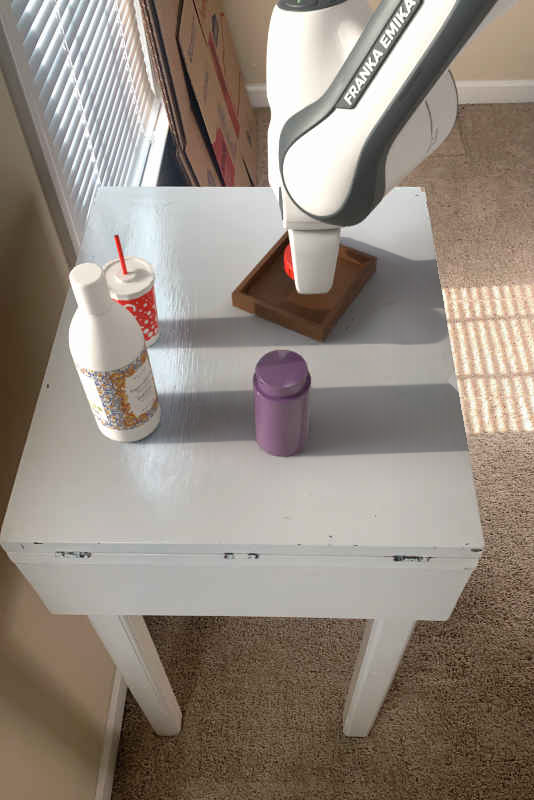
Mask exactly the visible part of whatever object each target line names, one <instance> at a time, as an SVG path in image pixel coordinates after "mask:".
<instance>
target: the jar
mask: <svg viewBox="0 0 534 800" xmlns="http://www.w3.org/2000/svg"><path fill="white" fill-rule="evenodd" d="M254 370H255V371H254V372H253V375H252V393H253V394H252V395H253V410H254V411H253V412H254V430H255V432H254V433H255V440H256V443H257V445H258V447H259V448H260V449H261V450H262V451H263V452H265V453H267V454H268V455H270V456H274V457H280V458H281V457H283V458H284V457H290V456H293V455H295V454H298V453H300V451H301V450H303V449H304V448H305V446H306V445H307V443H308V440H309V432H310V431H309V430H310V411H311V397H312V396H311V395H312V375H311V372H310V371H309V367H308V363H307V362H306V360H305V358H304V357H303V356H302V355H300V354H299V353H297V352H295V351H293V350H290V349H274V350H271V351H268V352H267V353H265V354H264V355H262V357H260V359H259V360H258V361H257V363H256V365H255V368H254Z"/></svg>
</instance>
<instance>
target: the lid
mask: <svg viewBox="0 0 534 800" xmlns="http://www.w3.org/2000/svg"><path fill="white" fill-rule="evenodd" d="M284 270H285V271H286V273H287V274H288V276H290V277H291V278H292V279H293V280H295V279H294V271H293V262H292V254H291V246H290V243H289V245H288V246H287V247H286V249H285V254H284Z"/></svg>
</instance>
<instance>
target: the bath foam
mask: <svg viewBox="0 0 534 800" xmlns="http://www.w3.org/2000/svg"><path fill="white" fill-rule="evenodd" d="M102 267H103V266H101V265H99V264H97V263H95V262H82V263H81V264H78V265H76V266H74V267H73V268H72V269H71V271H70V273H69V281H70V285H71V288H72V291H73V294H74V297H75V299H76V303H77V305H78V307H77V309H76V311H75V313H74V315H73V317H72V320H71V323H70V326H69V331H68V343H69V350H70V354H71V357H72V360H73V362H74V365H75V368H76V370H77V373H78V376H79V379H80V381H81V383H82V387H83V389H84V392H85V394H86V398H87V401H88V403H89V405H90V409H91V411H92V414H93V416H94V418H95V421H96V424H97V426H98V429H99V431H100V432H101V433H102V434H103V435H104V436H105V437H107V438H109V439H110V440H112V441H115V442H120V443H132V442H133V443H134V442H138V441H140V440H142V439H145V438H147V437H148V436H149V435H151V434H152V433H153V432H154V431H155V430H156V428H157V427H158V426H159V424H160V422H161V419H162V408H161V403H160V399H159V394H158V390H157V387H156V382H155V377H154V373H153V368H152V365H151V361H150V357H149V351H148V347H146V343H145V339H144V335H143V332H142V330H141V328H140V325H139V324H138V322H137V320H136V319H135V317H134V316H133V315H132V314H131V313H130V312H129V311H128V310H127V309H126V308H125V307H124V306H122V305H121V304H119V303H118V302H116V301H114V300H113V299H111V295H110V292H109V288H108V284H107V280H106V277H105V273H104V271H103V269H102Z"/></svg>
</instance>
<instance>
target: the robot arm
mask: <svg viewBox="0 0 534 800" xmlns="http://www.w3.org/2000/svg"><path fill="white" fill-rule="evenodd" d="M520 1H521V0H380V3H379V4H378V5H377V7H376V9H375V11H374V10H373V9H372V7H371V5H370V4H369V1H368V0H279V1H277V3H275V5H274V7H273V10H272V14H271V17H270V21H269V28H268V35H267V45H266V68H265V69H266V72H265V73H266V97H267V98H266V99H267V101H268V104H269V108H270V122H269V125H268V131H267V167H268V168H267V171H268V173H267V176H268V183H269V186H270V188H271V189H272V190H273V193H274V195H275V198H276V200H277V203H278V206H279V209H280V210H279V211H280V215H281V221H282V225H283V228H284V229H285V230H288V233H289V239H290V246H291V254H292V262H293V271H294V279H295V285H296V289H297V291H298V293H300V294H304V295H308V294H324V293H327V292H329V290H330V289H331V287H332V284H333V279H334V274H335V268H336V262H337V256H338V250H339V244H341V242H340V241H341V232H342V231H341V228H347V227H354V226H356V225H357V226H358V225H359V224H361V223H363V222H364V221H365V220H366V219H367V218H368V216H369V215H371V213H372V212H373V211H374V210H375V209H376V208H377V207H378V206H379V205H380V203H381V202H382V201H383V199H384V198H385V197H386V196H388V194H389V193H391V191H393V190H394V189H395V188H396V187H397V186H399V184H400V183H402V182H403V181H404V180H405V179H406V178H407V177H408V176H409V175H410V174H411V173H412V172H414V170H416V169H417V168H418V167H419V166H420V165H421V164H422V163H423V162H424V161H425V160H426V159H427V158H428V157H430V156H431V155H432V154H433V153H434V152H435V151H436V150H437V149H438V148H439V147H440V146H441V145H442V144H443V143H444V142H445V141H446V140H447V139H448V138H449V137H450V135H451V133H452V132H453V130H454V128H455V125H456V123H457V120H458V119H457V118H458V114H459V93H458V88H457V83H456V82H455V78H454V76H453V74H452V71H451V67H452V66H453V65H454V63H456V61H457V60H458V58H460V56H461V55H462V53H464V51H465V50H466V49H467V48H468V47H469V46H470V45H471V44H472V43H473V42H474V41H475V40H476V39H477V38H478V37H479V36H480V35H481V34H483V32H484V31H485V30H486V29H488V28H489V27H490V26H491V25H492V24H493V23H495V22H496V20H498V19H499V18H500V17H501V16H502V15H504V14H505V13H506V12H507V11H509V10H510V9H511V8H512V7H513V6H515V5H516V4H517V3H519V2H520Z"/></svg>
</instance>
